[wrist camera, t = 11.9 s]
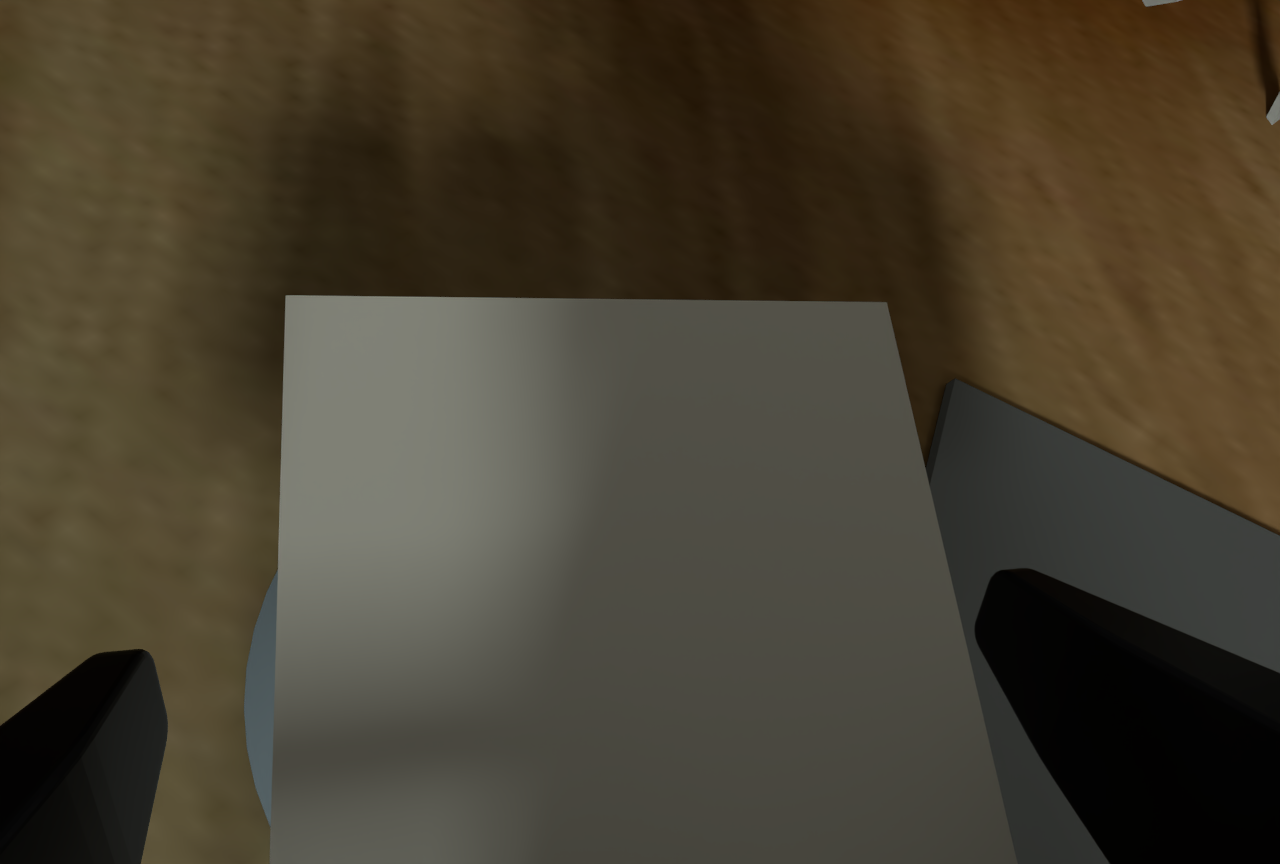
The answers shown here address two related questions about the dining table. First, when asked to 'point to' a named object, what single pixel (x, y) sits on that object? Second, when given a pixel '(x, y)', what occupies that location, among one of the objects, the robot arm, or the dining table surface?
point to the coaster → (262, 698)
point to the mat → (1084, 570)
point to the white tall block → (615, 591)
